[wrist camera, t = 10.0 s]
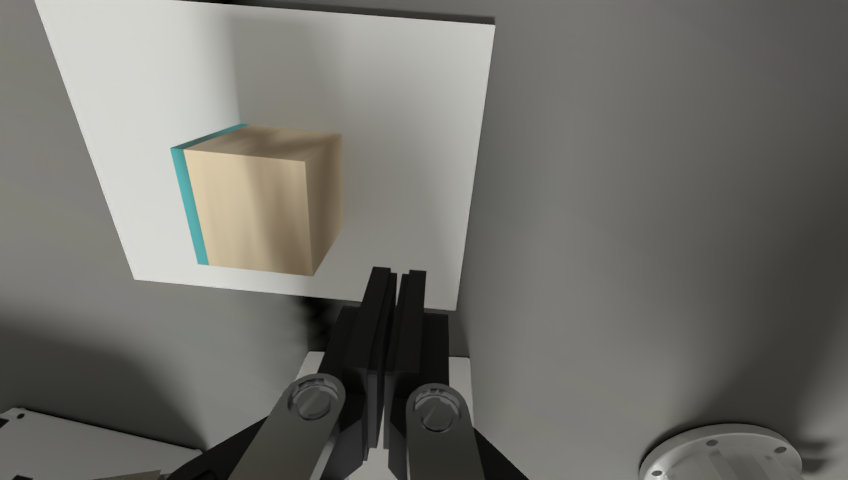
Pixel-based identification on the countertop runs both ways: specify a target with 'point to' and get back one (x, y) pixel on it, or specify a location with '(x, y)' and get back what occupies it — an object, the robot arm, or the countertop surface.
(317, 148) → the block
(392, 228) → the mat
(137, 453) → the stereo radio cassette player
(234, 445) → the robot arm
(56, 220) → the countertop surface
